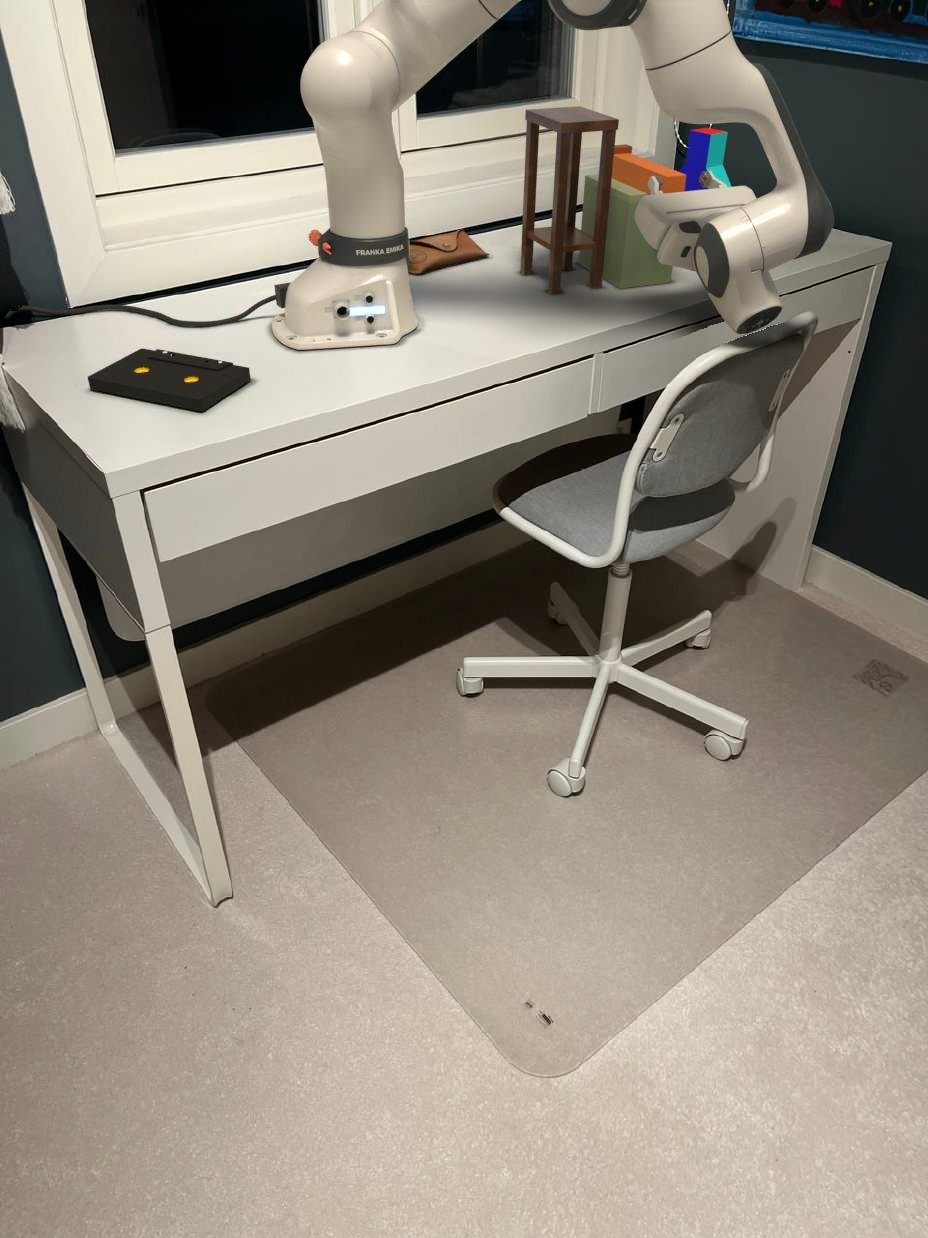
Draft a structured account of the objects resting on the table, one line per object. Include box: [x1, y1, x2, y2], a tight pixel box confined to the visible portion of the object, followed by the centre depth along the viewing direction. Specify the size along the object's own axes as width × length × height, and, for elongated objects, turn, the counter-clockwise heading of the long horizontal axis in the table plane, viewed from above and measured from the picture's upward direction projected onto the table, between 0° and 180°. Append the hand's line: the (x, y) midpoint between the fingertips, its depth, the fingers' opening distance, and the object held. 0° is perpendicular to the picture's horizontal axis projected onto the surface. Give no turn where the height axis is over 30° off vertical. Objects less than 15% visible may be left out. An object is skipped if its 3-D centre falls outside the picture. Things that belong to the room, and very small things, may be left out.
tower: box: [612, 143, 687, 194], centre depth 158 cm, size 5×20×5 cm, turn 22°
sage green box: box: [578, 173, 673, 290], centre depth 166 cm, size 10×16×15 cm, turn 22°
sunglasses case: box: [408, 228, 490, 275], centre depth 174 cm, size 18×7×7 cm, turn 132°
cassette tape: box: [87, 348, 251, 412], centre depth 128 cm, size 18×12×2 cm, turn 67°
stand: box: [519, 105, 620, 295], centre depth 159 cm, size 10×13×26 cm
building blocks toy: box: [678, 127, 732, 192], centre depth 188 cm, size 19×25×18 cm
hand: (678, 176), depth 149 cm, fingers open, 8 cm apart
